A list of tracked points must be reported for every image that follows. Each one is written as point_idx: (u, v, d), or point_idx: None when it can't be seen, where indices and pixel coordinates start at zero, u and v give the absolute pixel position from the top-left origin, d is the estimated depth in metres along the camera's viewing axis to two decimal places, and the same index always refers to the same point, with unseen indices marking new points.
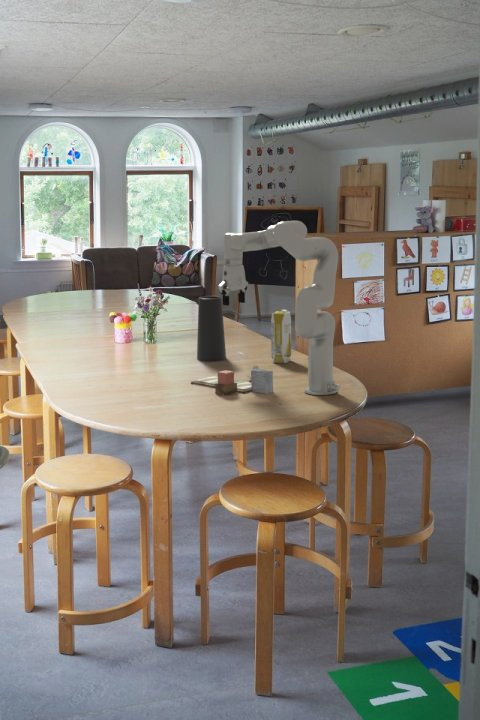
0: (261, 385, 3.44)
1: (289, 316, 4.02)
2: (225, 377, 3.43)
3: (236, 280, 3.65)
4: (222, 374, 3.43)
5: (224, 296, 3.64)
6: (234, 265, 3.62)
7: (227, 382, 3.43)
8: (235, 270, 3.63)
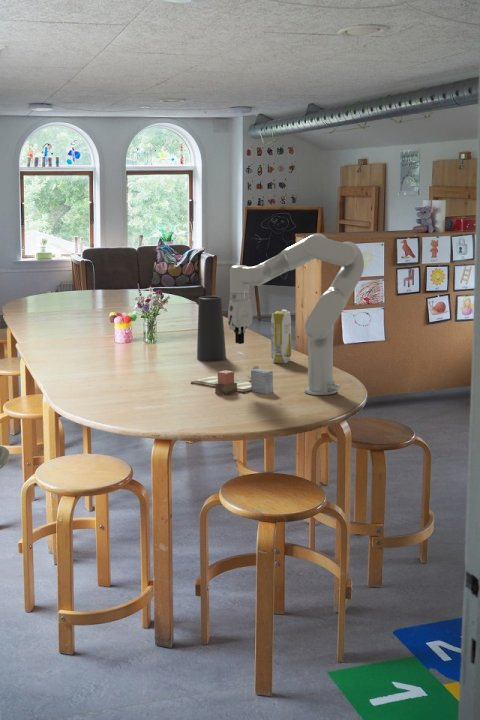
0: (261, 385, 3.44)
1: (289, 316, 4.02)
2: (225, 377, 3.43)
3: (242, 316, 3.45)
4: (222, 374, 3.43)
5: (237, 334, 3.48)
6: (241, 300, 3.43)
7: (227, 382, 3.43)
8: (241, 306, 3.44)
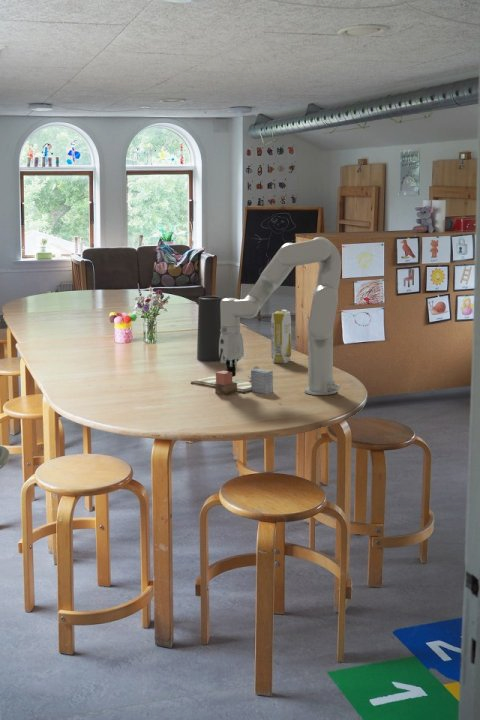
0: (261, 385, 3.44)
1: (289, 316, 4.02)
2: (223, 377, 3.42)
3: (233, 349, 3.43)
4: (220, 374, 3.43)
5: (228, 367, 3.46)
6: (231, 333, 3.41)
7: (225, 382, 3.42)
8: (232, 339, 3.42)
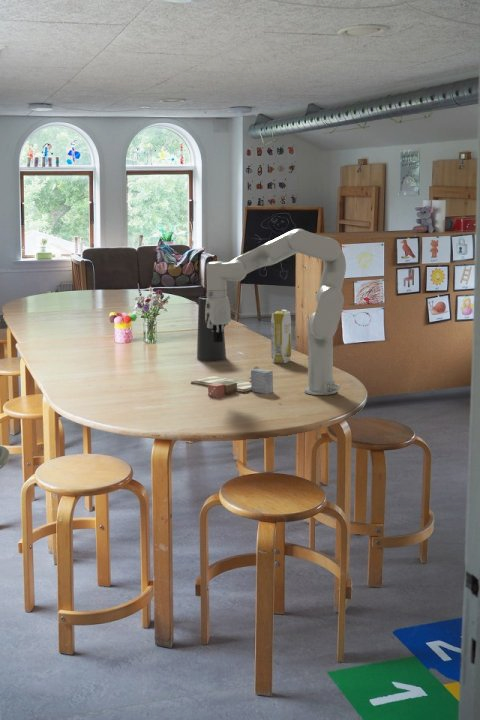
0: (261, 385, 3.44)
1: (289, 316, 4.02)
2: (218, 396, 3.41)
3: (220, 313, 3.35)
4: None
5: (215, 332, 3.38)
6: (218, 297, 3.33)
7: (223, 394, 3.42)
8: (219, 303, 3.34)
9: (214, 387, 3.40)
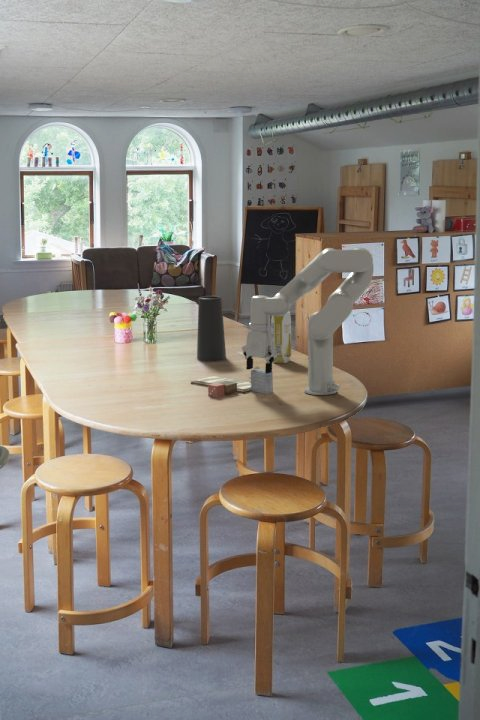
0: (261, 385, 3.44)
1: (289, 316, 4.02)
2: (218, 396, 3.41)
3: (252, 346, 3.43)
4: None
5: None
6: (250, 329, 3.42)
7: (223, 394, 3.42)
8: (251, 335, 3.42)
9: (214, 387, 3.40)
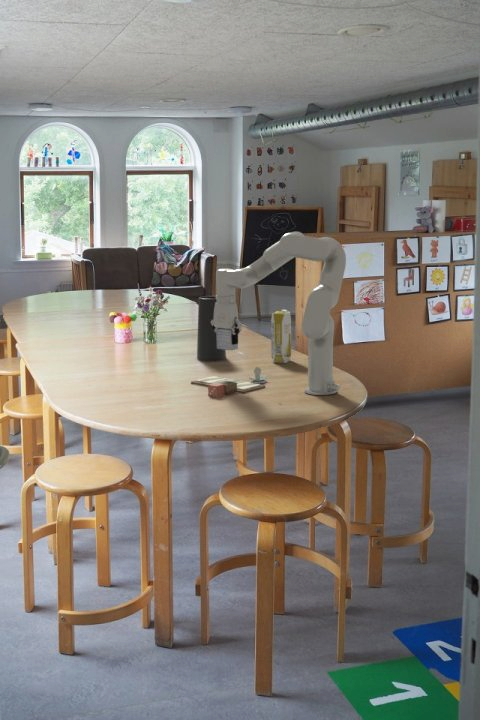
0: (226, 342, 3.53)
1: (289, 316, 4.02)
2: (218, 396, 3.41)
3: (219, 317, 3.53)
4: None
5: None
6: None
7: (223, 394, 3.42)
8: (218, 307, 3.52)
9: (214, 387, 3.40)
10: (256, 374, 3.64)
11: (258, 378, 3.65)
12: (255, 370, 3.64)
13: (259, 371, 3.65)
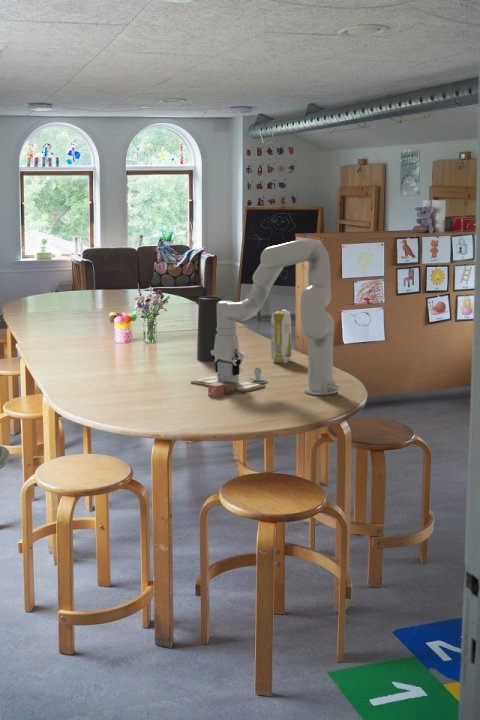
0: (227, 376, 3.56)
1: (289, 316, 4.02)
2: (218, 396, 3.41)
3: (220, 349, 3.55)
4: None
5: None
6: (217, 333, 3.55)
7: (223, 394, 3.42)
8: (218, 339, 3.55)
9: (214, 387, 3.40)
10: (256, 374, 3.64)
11: (258, 378, 3.64)
12: (255, 370, 3.64)
13: (259, 371, 3.64)
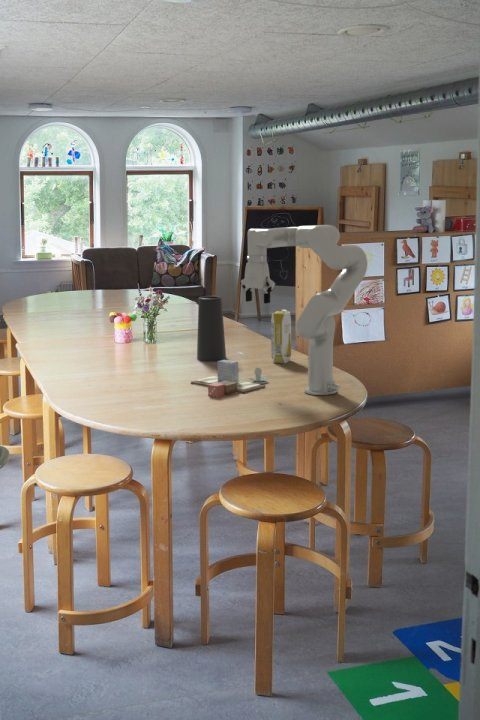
0: (227, 376, 3.56)
1: (289, 316, 4.02)
2: (218, 396, 3.41)
3: (250, 277, 3.54)
4: None
5: None
6: (248, 261, 3.54)
7: (223, 394, 3.42)
8: (249, 267, 3.54)
9: (214, 387, 3.40)
10: (257, 375, 3.63)
11: (259, 379, 3.64)
12: (256, 371, 3.63)
13: (260, 372, 3.63)
